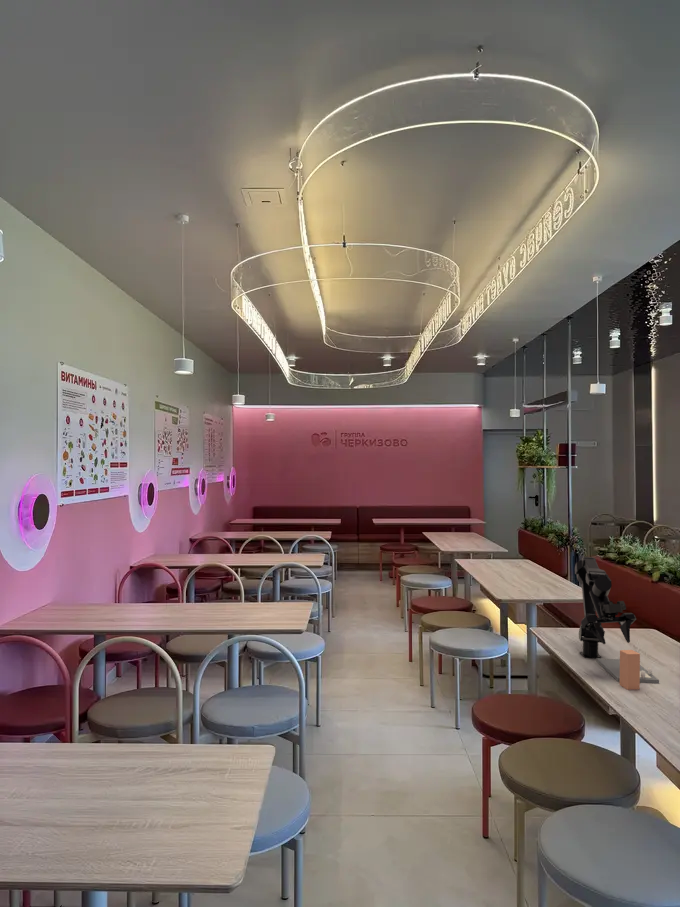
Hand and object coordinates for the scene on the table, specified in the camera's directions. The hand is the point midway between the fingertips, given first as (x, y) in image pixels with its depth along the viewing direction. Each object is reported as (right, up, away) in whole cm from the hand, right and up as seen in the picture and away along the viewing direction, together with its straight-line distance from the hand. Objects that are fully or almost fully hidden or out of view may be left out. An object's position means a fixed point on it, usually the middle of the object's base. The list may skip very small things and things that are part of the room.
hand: (616, 643), depth 216 cm
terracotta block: (+1, -13, -8) cm, 15 cm away
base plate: (+7, -13, +7) cm, 16 cm away
